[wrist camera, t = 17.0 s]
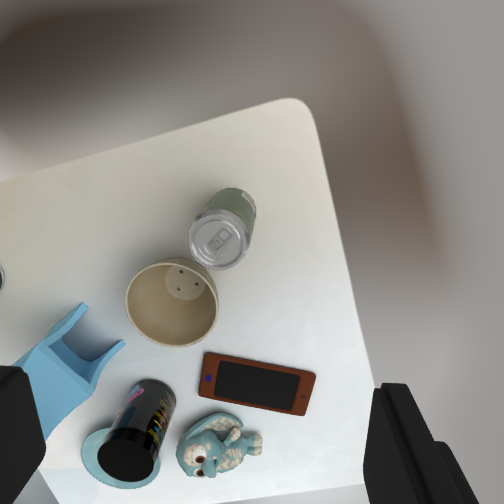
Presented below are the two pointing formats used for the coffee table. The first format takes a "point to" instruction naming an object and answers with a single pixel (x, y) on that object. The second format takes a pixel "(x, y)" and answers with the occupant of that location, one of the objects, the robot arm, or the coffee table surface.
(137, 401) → the supplement container
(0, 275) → the pill bottle
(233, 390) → the smartphone
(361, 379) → the coffee table surface
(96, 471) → the saucer
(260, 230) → the coffee table surface
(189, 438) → the stuffed animal
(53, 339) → the blue doll chair
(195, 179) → the coffee table surface
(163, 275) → the flower pot
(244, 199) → the beer can
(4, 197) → the coffee table surface
